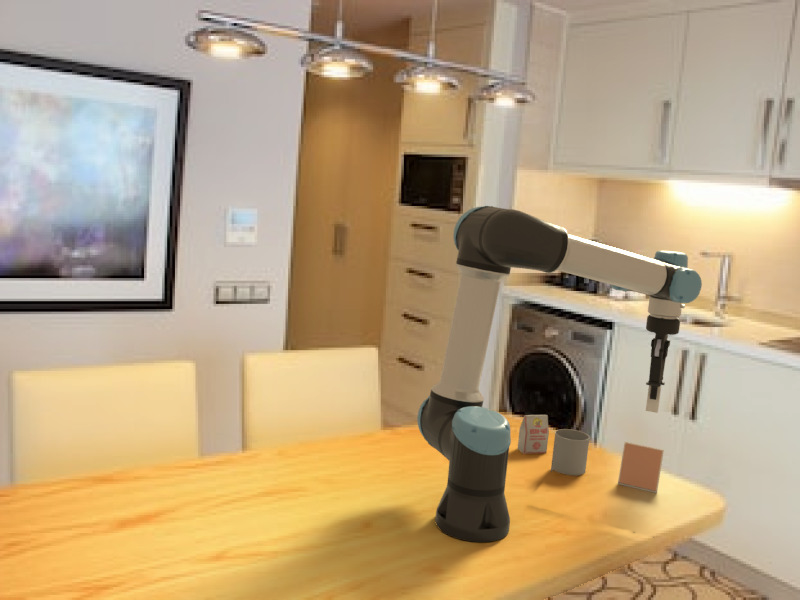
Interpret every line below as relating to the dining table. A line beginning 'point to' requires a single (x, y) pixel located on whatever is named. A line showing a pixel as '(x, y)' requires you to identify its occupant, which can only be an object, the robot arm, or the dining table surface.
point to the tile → (640, 467)
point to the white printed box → (533, 434)
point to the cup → (570, 452)
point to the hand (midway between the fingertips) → (651, 410)
